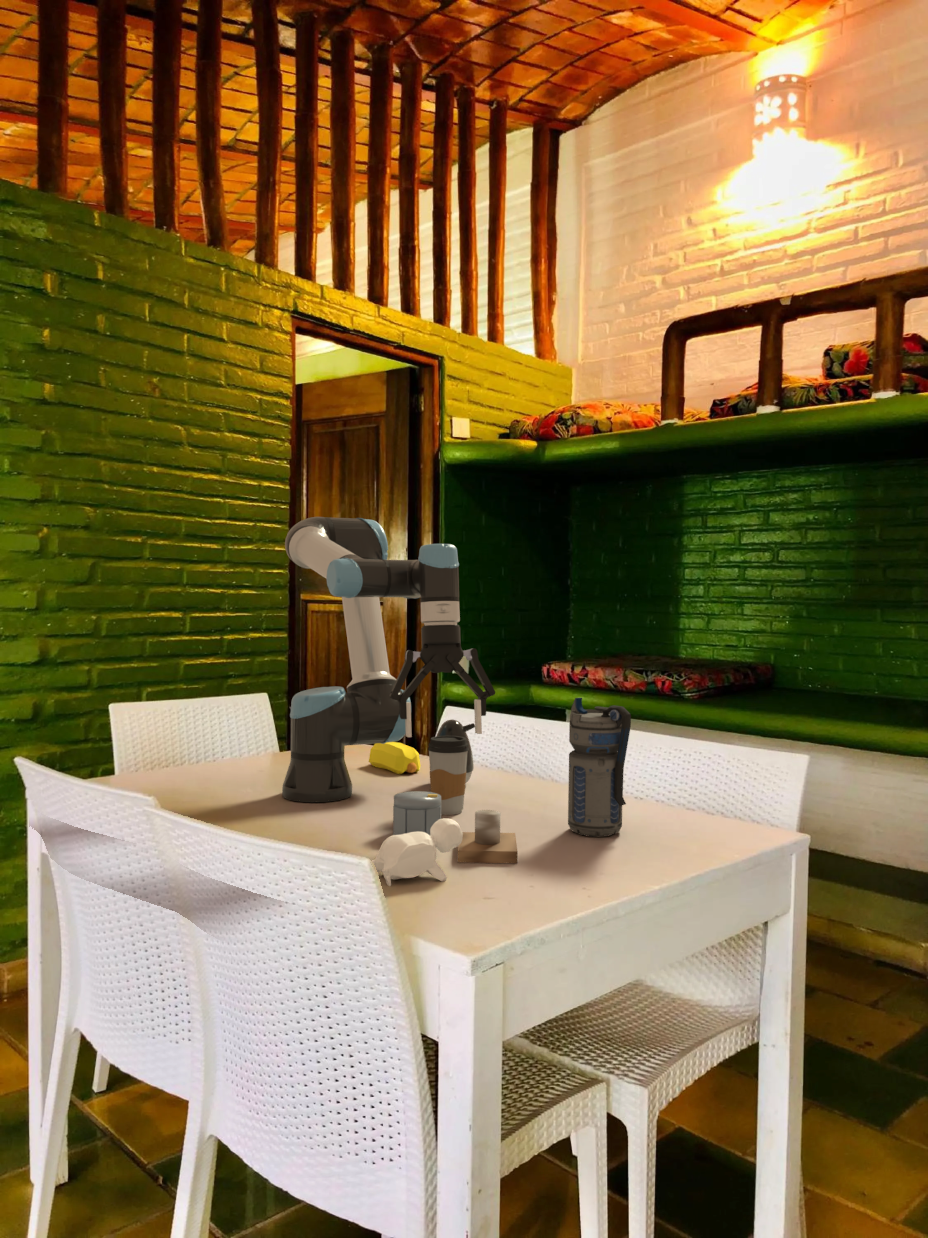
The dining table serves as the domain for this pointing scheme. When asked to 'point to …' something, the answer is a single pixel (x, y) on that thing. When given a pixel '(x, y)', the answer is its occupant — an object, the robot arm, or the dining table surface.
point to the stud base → (488, 850)
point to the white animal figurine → (417, 851)
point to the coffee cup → (448, 771)
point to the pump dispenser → (458, 730)
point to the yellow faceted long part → (395, 757)
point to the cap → (415, 812)
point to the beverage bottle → (597, 768)
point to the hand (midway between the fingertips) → (443, 735)
